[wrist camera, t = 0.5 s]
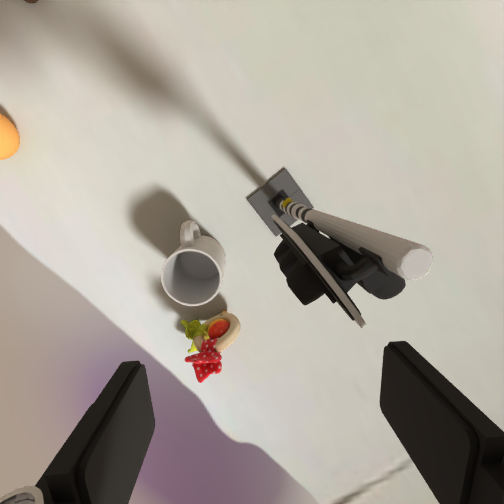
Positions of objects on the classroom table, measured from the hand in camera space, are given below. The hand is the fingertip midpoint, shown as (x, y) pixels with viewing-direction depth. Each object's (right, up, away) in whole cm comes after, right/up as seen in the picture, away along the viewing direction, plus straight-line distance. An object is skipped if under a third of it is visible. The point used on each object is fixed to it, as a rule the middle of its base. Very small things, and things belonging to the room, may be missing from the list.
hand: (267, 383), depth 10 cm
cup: (-8, +6, +29) cm, 31 cm away
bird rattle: (-7, -6, +32) cm, 33 cm away
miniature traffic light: (+3, +12, +28) cm, 30 cm away
